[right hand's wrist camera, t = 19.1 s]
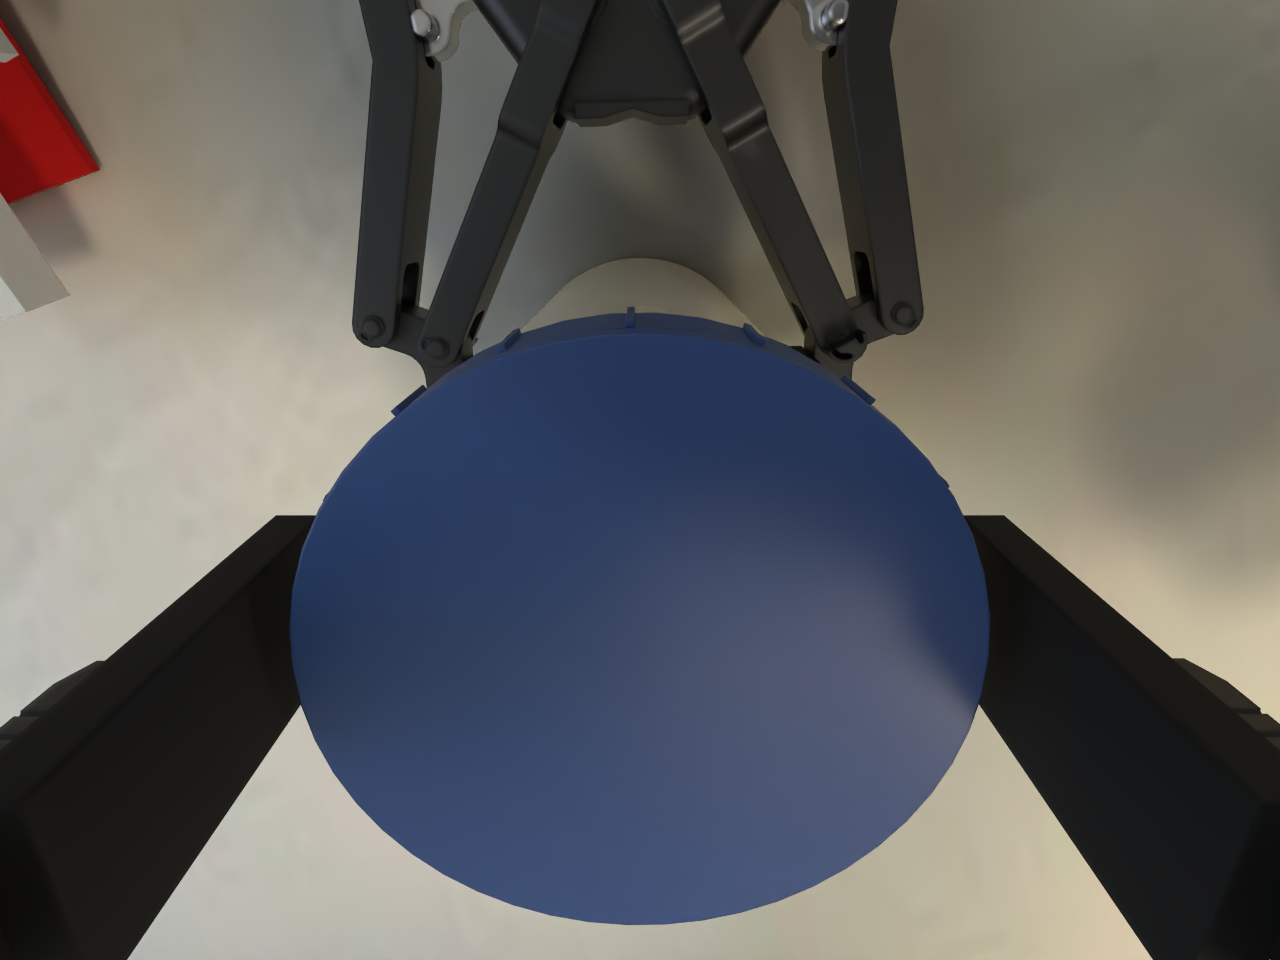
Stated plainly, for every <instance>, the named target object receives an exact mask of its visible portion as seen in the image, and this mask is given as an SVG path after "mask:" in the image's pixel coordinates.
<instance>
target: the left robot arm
mask: <svg viewBox="0 0 1280 960" xmlns="http://www.w3.org/2000/svg"><path fill="white" fill-rule="evenodd" d="M780 1H782V2H786V3H789V4H791V5H792V6H794V7H795V8H796V10H797V11H798V12H799V14H800V17H801V19H802V29H803V36H804V38H805V41H806V42H807V43H808V45H809V46H810V47H812V48H813V49H815V50H818V51H823V53H822V82H823V91H824V98H825V104H826V111H827V117H828V123H829V129H830V135H831V141H832V148H833V154H834V160H835V166H836V172H837V178H838V184H839V191H840V197H841V203H842V209H843V215H844V221H845V227H846V234H847V240H848V246H849V252H850V258H851V264H852V271H853V277H854V283H855V289H856V295H857V296H854V297H852V298H849V299H845V297H844V294H843V292H842V290H841V288H840V285H839V283H838V281H837V279H836V276H835V274H834V272H833V270H832V267H831V265H830V263H829V261H828V258H827V256H826V254H825V252H824V249H823V247H822V245H821V243H820V240H819V238H818V236H817V234H816V231H815V229H814V227H813V225H812V222H811V220H810V218H809V216H808V213H807V211H806V209H805V207H804V204H803V202H802V200H801V198H800V195H799V193H798V191H797V189H796V186H795V184H794V182H793V180H792V177H791V175H790V173H789V171H788V168H787V166H786V164H785V162H784V159H783V157H782V155H781V153H780V150H779V148H778V146H777V144H776V141H775V139H774V137H773V134H772V132H771V130H770V127H769V125H768V121H767V115H766V111H765V108H764V105H763V103H762V100H761V98H760V96H759V93H758V91H757V89H756V87H755V84H754V82H753V80H752V78H751V75H750V73H749V71H748V69H747V66H746V64H745V62H744V60H743V59H744V57H745V56H746V54H747V53H748V51H749V49H750V48H751V46H752V45H753V43H754V42H755V40H756V39H757V37H758V35H759V34H760V32H761V31H762V29H763V28H764V26H765V25H766V23H767V22H768V20H769V18H770V17H771V15H772V14H773V12H774V11H775V9H776V8H777V6H778V5H779V3H780ZM897 1H898V0H359V2H360V7H361V11H362V16H363V20H364V24H365V29H366V33H367V37H368V42H369V46H370V50H371V55H372V59H373V63H372V76H371V89H370V101H369V114H368V127H367V140H366V152H365V165H364V178H363V191H362V203H361V216H360V229H359V242H358V254H357V267H356V280H355V292H354V305H353V318H352V326H353V332H354V334H355V336H356V338H357V339H358V340H359V341H360V342H361V343H362V344H364V345H366V346H369V347H371V348H380V347H382V346H383V347H386V348H389V349H392V350H395V351H398V352H401V353H404V354H407V355H409V356H411V357H413V358H414V359H415V360H417V362H418V363H419V364H420V365H421V367H422V369H423V371H424V373H425V377H426V384H427V389H428V388H429V387H431V386H432V385H433V384H434V383H435V382H436V381H438V380H439V379H440V378H441V377H442V376H443V375H445V374H446V373H448V372H449V371H451V370H452V369H454V368H456V367H457V366H459V365H460V364H462V363H463V362H465V361H467V360H468V359H470V358H471V357H473V348H472V346H473V345H475V343H476V342H477V340H478V338H476V336H477V334H478V331H479V329H480V326H481V324H482V321H483V319H484V317H485V314H486V312H487V309H488V307H489V304H490V302H491V300H492V297H493V295H494V292H495V290H496V287H497V285H498V283H499V280H500V278H501V275H502V273H503V270H504V268H505V266H506V263H507V261H508V258H509V256H510V253H511V251H512V249H513V246H514V244H515V241H516V239H517V236H518V234H519V232H520V229H521V227H522V224H523V222H524V219H525V217H526V215H527V212H528V210H529V207H530V205H531V202H532V200H533V198H534V195H535V193H536V190H537V188H538V185H539V183H540V181H541V178H542V176H543V173H544V171H545V168H546V166H547V164H548V161H549V159H550V157H551V156H552V154H553V153H554V151H555V149H556V147H557V145H558V143H559V140H560V138H561V135H562V133H563V130H564V128H565V126H566V123H567V121H568V120H569V121H572V122H575V123H578V124H579V126H580V127H592V126H608V125H611V124H614V123H617V122H620V121H623V120H626V119H629V118H637V119H641V120H644V121H648V122H652V123H655V124H659V125H666V124H686V122H687V121H688V120H690V119H693V118H695V117H697V116H698V117H699V120H700V122H701V124H702V126H703V128H704V130H705V132H706V134H707V136H708V138H709V140H710V142H711V144H712V146H713V148H714V149H715V151H716V152H717V154H718V155H719V157H720V159H721V161H722V163H723V166H724V168H725V170H726V172H727V174H728V176H729V178H730V180H731V182H732V185H733V187H734V189H735V191H736V193H737V195H738V197H739V199H740V202H741V204H742V206H743V208H744V210H745V212H746V214H747V216H748V218H749V221H750V223H751V225H752V227H753V229H754V231H755V233H756V235H757V237H758V240H759V242H760V244H761V246H762V248H763V250H764V252H765V254H766V256H767V259H768V261H769V263H770V265H771V267H772V269H773V271H774V273H775V275H776V278H777V280H778V282H779V284H780V286H781V288H782V290H783V292H784V295H785V297H786V299H787V301H788V303H789V305H790V307H791V309H792V311H793V314H794V316H795V318H796V320H797V322H798V324H799V326H800V328H801V330H802V333H803V335H804V336H805V339H804V348H803V347H802V346H789V347H791V348H792V349H794V350H796V351H798V352H799V353H801V354H803V355H805V356H806V357H808V358H810V359H812V360H813V361H815V362H817V363H819V364H820V365H822V366H824V367H825V368H827V369H828V370H829V371H830V372H832V373H833V374H834V375H835V376H837V377H838V378H839V379H841V378H842V377H843V376H844V375H846V376H847V377H848V378H850V379H852V367H853V362H854V361H856V360H857V359H858V358H860V357H861V356H862V355H863V353H864V351H865V350H866V347H867V344H869V343H871V342H874V341H876V340H879V339H882V338H884V337H887V336H890V335H892V334H897V335H903V334H908V333H910V332H912V331H914V330H915V329H916V328H917V327H918V326H919V324H920V322H921V320H922V318H923V310H924V308H923V300H922V292H921V285H920V277H919V269H918V262H917V254H916V246H915V239H914V231H913V223H912V216H911V208H910V200H909V193H908V185H907V177H906V170H905V162H904V154H903V147H902V139H901V131H900V124H899V116H898V108H897V101H896V93H895V85H894V78H893V70H892V62H891V55H890V47H889V45H890V40H891V34H892V29H893V23H894V17H895V12H896V6H897ZM475 10H479V11H480V12H481V13H482V15H483V16H484V17H485V19H486V20H487V22H488V23H489V24H490V26H491V27H492V29H493V30H494V31H495V33H496V34H497V36H498V37H499V38H500V40H501V41H502V42H503V44H504V45H505V47H506V48H507V49H508V51H509V52H510V54H511V55H512V56H513V58H514V59H515V61H516V62H517V63H518V67H517V70H516V72H515V75H514V78H513V80H512V83H511V85H510V88H509V91H508V93H507V96H506V99H505V101H504V104H503V106H502V109H501V112H500V116H499V120H498V129H497V133H496V136H495V139H494V141H493V144H492V147H491V149H490V152H489V155H488V157H487V160H486V162H485V165H484V168H483V170H482V173H481V175H480V178H479V181H478V183H477V186H476V188H475V191H474V194H473V196H472V199H471V202H470V204H469V207H468V209H467V212H466V215H465V217H464V220H463V222H462V225H461V228H460V230H459V233H458V236H457V238H456V241H455V243H454V246H453V249H452V251H451V254H450V256H449V259H448V262H447V264H446V267H445V270H444V272H443V275H442V277H441V280H440V283H439V285H438V288H437V290H436V293H435V296H434V298H433V301H432V303H431V306H430V309H429V310H428V309H425V308H421V307H419V301H420V292H421V283H422V274H423V265H424V256H425V247H426V238H427V229H428V220H429V211H430V202H431V193H432V184H433V175H434V166H435V157H436V148H437V139H438V130H439V121H440V112H441V100H442V71H441V63H440V62H441V61H445V60H448V59H449V58H450V57H452V56H453V55H454V53H455V52H456V50H457V47H458V44H459V28H460V25H461V22H462V21H463V19H464V18H465V16H466V15H468V14H469V13H470V12H472V11H475Z"/></svg>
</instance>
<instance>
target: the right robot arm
mask: <svg viewBox="0 0 1280 960" xmlns="http://www.w3.org/2000/svg"><path fill="white" fill-rule="evenodd" d="M963 516H964V518H965V520H966V522H967V524H968V526H969V528H970V531H971V533H972V535H973V537H974V541H975V544H976V547H977V551H978V554H979V557H980V561H981V564H982V568H983V571H984V574H985V580H986V588H987V596H988V603H989V611H990V641H989V659H988V664H987V670H986V675H985V681H984V686H983V691H982V695H981V698H980V701H979V705H980V706H981V708H982V709H983V711H984V712H985V714H986V715H987V717H988V718H989V720H990V721H991V722H992V724H993V725H994V727H995V728H996V730H997V731H998V733H999V734H1000V736H1001V737H1002V739H1003V740H1004V742H1005V743H1006V744H1007V746H1008V747H1009V749H1010V750H1011V752H1012V753H1013V755H1014V756H1015V758H1016V759H1017V761H1018V762H1019V764H1020V765H1021V767H1022V768H1023V769H1024V771H1025V772H1026V774H1027V775H1028V777H1029V778H1030V780H1031V781H1032V783H1033V784H1034V786H1035V787H1036V789H1037V790H1038V792H1039V793H1040V794H1041V796H1042V797H1043V799H1044V800H1045V802H1046V803H1047V805H1048V806H1049V808H1050V809H1051V811H1052V812H1053V814H1054V815H1055V816H1056V818H1057V819H1058V821H1059V822H1060V824H1061V825H1062V827H1063V828H1064V830H1065V831H1066V833H1067V834H1068V836H1069V837H1070V839H1071V840H1072V841H1073V843H1074V844H1075V846H1076V847H1077V849H1078V850H1079V852H1080V853H1081V855H1082V856H1083V858H1084V859H1085V861H1086V862H1087V863H1088V865H1089V866H1090V868H1091V869H1092V871H1093V872H1094V874H1095V875H1096V877H1097V878H1098V880H1099V881H1100V883H1101V884H1102V886H1103V887H1104V888H1105V890H1106V891H1107V893H1108V894H1109V896H1110V897H1111V899H1112V900H1113V902H1114V903H1115V905H1116V906H1117V908H1118V909H1119V910H1120V912H1121V913H1122V915H1123V916H1124V918H1125V919H1126V921H1127V922H1128V924H1129V925H1130V927H1131V928H1132V930H1133V931H1134V933H1135V934H1136V935H1137V937H1138V938H1139V940H1140V941H1141V943H1142V944H1143V946H1144V947H1145V949H1146V950H1147V952H1148V953H1149V955H1150V956H1151V957H1152V959H1153V960H1269V959H1270V960H1280V724H1279V723H1278V722H1277V721H1275V720H1274V719H1273V718H1272V717H1270V716H1269V715H1268V714H1262V713H1261V711H1260V708H1259V707H1258V706H1257V705H1256V704H1254V703H1253V702H1252V701H1251V700H1249V699H1248V698H1247V697H1246V696H1244V695H1243V694H1242V693H1241V692H1240V691H1238V690H1237V689H1236V688H1235V687H1233V686H1232V685H1231V684H1230V683H1228V682H1227V681H1225V680H1224V679H1222V678H1220V677H1218V676H1216V675H1214V674H1212V673H1210V672H1209V671H1207V670H1205V669H1203V668H1201V667H1199V666H1197V665H1195V664H1194V663H1192V662H1190V661H1188V660H1186V659H1184V658H1171V657H1170V656H1169V655H1167V654H1166V653H1165V652H1164V651H1163V650H1162V649H1160V648H1159V647H1158V646H1157V645H1156V644H1155V643H1153V642H1152V641H1151V640H1150V639H1149V638H1147V637H1146V636H1145V635H1144V634H1143V633H1142V632H1140V631H1139V630H1138V629H1137V628H1136V627H1135V626H1133V625H1132V624H1131V623H1130V622H1129V621H1127V620H1126V619H1125V618H1124V617H1123V616H1122V615H1120V614H1119V613H1118V612H1117V611H1116V610H1115V609H1113V608H1112V607H1111V606H1110V605H1109V604H1107V603H1106V602H1105V601H1104V600H1103V599H1102V598H1100V597H1099V596H1098V595H1097V594H1096V593H1095V592H1093V591H1092V590H1091V589H1090V588H1089V587H1087V586H1086V585H1085V584H1084V583H1083V582H1082V581H1080V580H1079V579H1078V578H1077V577H1076V576H1075V575H1073V574H1072V573H1071V572H1070V571H1069V570H1067V569H1066V568H1065V567H1064V566H1063V565H1062V564H1060V563H1059V562H1058V561H1057V560H1056V559H1055V558H1053V557H1052V556H1051V555H1050V554H1049V553H1047V552H1046V551H1045V550H1044V549H1043V548H1042V547H1040V546H1039V545H1038V544H1037V543H1036V542H1035V541H1033V540H1032V539H1031V538H1030V537H1029V536H1027V535H1026V534H1025V533H1024V532H1023V531H1022V530H1020V529H1019V528H1018V527H1017V526H1016V525H1015V524H1013V523H1012V522H1011V521H1010V520H1009V519H1007V518H1006V517H1005V516H1004V515H963ZM315 517H316V515H276V516H275V517H274V518H273V519H271V520H270V521H269V522H268V523H267V524H265V525H264V526H263V527H262V528H261V529H260V530H258V531H257V532H256V533H255V534H254V535H253V536H251V537H250V538H249V539H248V540H247V541H245V542H244V543H243V544H242V545H241V546H240V547H238V548H237V549H236V550H235V551H234V552H233V553H231V554H230V555H229V556H228V557H227V558H225V559H224V560H223V561H222V562H221V563H220V564H218V565H217V566H216V567H215V568H214V569H213V570H211V571H210V572H209V573H208V574H207V575H205V576H204V577H203V578H202V579H201V580H200V581H198V582H197V583H196V584H195V585H194V586H193V587H191V588H190V589H189V590H188V591H187V592H185V593H184V594H183V595H182V596H181V597H180V598H178V599H177V600H176V601H175V602H174V603H173V604H171V605H170V606H169V607H168V608H167V609H165V610H164V611H163V612H162V613H161V614H160V615H158V616H157V617H156V618H155V619H154V620H153V621H151V622H150V623H149V624H148V625H147V626H145V627H144V628H143V629H142V630H141V631H140V632H138V633H137V634H136V635H135V636H134V637H133V638H131V639H130V640H129V641H128V642H127V643H125V644H124V645H123V646H122V647H121V648H120V649H118V650H117V651H116V652H115V653H114V654H113V655H111V656H110V657H109V658H108V659H107V660H105V661H96V662H94V663H92V664H90V665H88V666H86V667H85V668H83V669H81V670H79V671H77V672H75V673H73V674H71V675H70V676H68V677H66V678H64V679H62V680H60V681H58V682H57V683H55V684H53V685H52V686H51V687H50V688H48V689H47V690H46V691H45V692H43V693H42V694H41V695H40V696H38V697H37V698H36V699H35V700H34V701H32V702H31V703H30V704H29V705H27V706H26V707H25V708H24V709H23V710H21V714H20V716H19V717H13V718H11V719H10V720H9V721H8V722H7V723H5V724H4V725H3V726H2V727H0V960H127V959H128V957H129V956H130V955H131V953H132V952H133V950H134V949H135V947H136V946H137V944H138V943H139V941H140V940H141V938H142V937H143V935H144V934H145V933H146V931H147V930H148V928H149V927H150V925H151V924H152V922H153V921H154V919H155V918H156V916H157V915H158V913H159V912H160V910H161V909H162V908H163V906H164V905H165V903H166V902H167V900H168V899H169V897H170V896H171V894H172V893H173V891H174V890H175V888H176V887H177V886H178V884H179V883H180V881H181V880H182V878H183V877H184V875H185V874H186V872H187V871H188V869H189V868H190V866H191V865H192V863H193V862H194V861H195V859H196V858H197V856H198V855H199V853H200V852H201V850H202V849H203V847H204V846H205V844H206V843H207V841H208V840H209V839H210V837H211V836H212V834H213V833H214V831H215V830H216V828H217V827H218V825H219V824H220V822H221V821H222V819H223V818H224V816H225V815H226V814H227V812H228V811H229V809H230V808H231V806H232V805H233V803H234V802H235V800H236V799H237V797H238V796H239V794H240V793H241V791H242V790H243V789H244V787H245V786H246V784H247V783H248V781H249V780H250V778H251V777H252V775H253V774H254V772H255V771H256V769H257V768H258V767H259V765H260V764H261V762H262V761H263V759H264V758H265V756H266V755H267V753H268V752H269V750H270V749H271V747H272V746H273V744H274V743H275V742H276V740H277V739H278V737H279V736H280V734H281V733H282V731H283V730H284V728H285V727H286V725H287V724H288V722H289V721H290V720H291V718H292V717H293V715H294V714H295V712H296V711H297V709H298V708H299V706H300V705H301V703H300V698H299V694H298V690H297V686H296V681H295V677H294V673H293V669H292V657H291V644H290V632H289V627H290V614H291V601H292V589H293V584H294V580H295V576H296V572H297V568H298V564H299V560H300V556H301V551H302V548H303V545H304V543H305V541H306V538H307V536H308V534H309V531H310V529H311V526H312V524H313V522H314V519H315Z"/></svg>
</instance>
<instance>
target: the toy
mask: <svg viewBox="0 0 1280 960" xmlns="http://www.w3.org/2000/svg"><path fill="white" fill-rule="evenodd" d="M99 170H100V169H99V168H98V166H97V165H96V163H95V161H94V160H93V158H92V157H91V155H90V154H89V152H88V151H87V149H86V148H85V146H84V145H83V143H82V142H81V140H80V139H79V137H78V136H77V134H76V133H75V131H74V130H73V128H72V127H71V125H70V123H69V122H68V120H67V119H66V117H65V116H64V114H63V113H62V111H61V110H60V108H59V107H58V105H57V104H56V102H55V101H54V99H53V98H52V96H51V95H50V93H49V92H48V90H47V88H46V87H45V85H44V84H43V82H42V81H41V79H40V78H39V76H38V75H37V73H36V72H35V70H34V69H33V67H32V66H31V64H30V63H29V61H28V60H27V58H26V57H25V55H24V53H23V52H22V50H21V49H20V47H19V46H18V44H17V43H16V41H15V40H14V38H13V37H12V35H11V34H10V32H9V31H8V29H7V28H6V26H5V25H4V23H3V22H2V20H1V19H0V320H3V319H6V318H9V317H13V316H16V315H19V314H22V313H25V312H28V311H30V310H33V309H35V308H38V307H41V306H43V305H46V304H49V303H51V302H54V301H56V300H59V299H62V298H64V297H67V296H69V295H70V294H69V293H68V291H67V290H66V288H65V287H64V285H63V284H62V282H61V281H60V279H59V278H58V277H57V275H56V274H55V272H54V271H53V269H52V268H51V266H50V265H49V263H48V262H47V260H46V259H45V258H44V256H43V255H42V253H41V252H40V250H39V249H38V247H37V246H36V244H35V243H34V242H33V240H32V239H31V237H30V236H29V234H28V233H27V231H26V230H25V228H24V227H23V225H22V224H21V223H20V221H19V220H18V218H17V217H16V215H15V214H14V212H13V211H12V209H11V208H10V207H9V205H8V204H11V203H13V202H16V201H19V200H21V199H24V198H27V197H29V196H32V195H35V194H37V193H40V192H43V191H45V190H48V189H51V188H53V187H56V186H59V185H61V184H64V183H67V182H69V181H72V180H75V179H77V178H80V177H83V176H85V175H88V174H91V173H93V172H96V171H99Z"/></svg>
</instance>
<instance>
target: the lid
mask: <svg viewBox="0 0 1280 960" xmlns="http://www.w3.org/2000/svg"><path fill="white" fill-rule="evenodd" d="M423 392H424V393H423ZM416 398H417V399H416ZM874 401H875V399H874V398H873V397H872V396H870V395H869V394H868V393H867V392H865V391H864V390H863V389H862V388H861V387H859V386H858V385H857V384H856V383H855V382H853V381H852V380H851V379H850V378H848V377H847V376H846V375H844V376H843V377H842V378H841V379H839V378H838V377H837V376H835V375H834V374H833V373H832V372H830V371H829V370H828V369H827V368H825V367H824V366H822V365H820V364H819V363H817V362H815V361H813V360H812V359H810V358H808V357H806V356H805V355H803V354H801V353H799V352H798V351H796V350H794V349H792V348H791V347H789V346H787V345H785V344H782V343H780V342H777V341H775V340H772V339H770V338H767V337H765V336H762V335H760V334H759V333H758V332H757V331H756V330H755V329H754V328H753V327H752V326H751V325H750V324H747V323H744V325H743V328H741V327H737V326H733V325H729V324H725V323H721V322H717V321H713V320H709V319H705V318H701V317H692V316H683V315H674V314H665V313H657V312H650V313H635V307H627V313H609V314H602V315H596V316H589V317H583V318H577V319H570V320H564V321H561V322H557V323H554V324H551V325H547V326H544V327H540V328H537V329H534V330H530V331H527V332H524V333H521V331H520V329H516V330H513V331H512V332H511V333H510V334H509V335H508V336H507V337H506V338H505V339H504V340H503V341H502V342H501V343H499V344H496V345H494V346H492V347H490V348H488V349H485V350H483V351H481V352H479V353H478V354H476V355H475V356H473V357H471V358H470V359H468V360H467V361H465V362H463V363H462V364H460V365H459V366H457V367H456V368H454V369H452V370H451V371H449V372H448V373H446V374H445V375H443V376H442V377H441V378H440V379H439V380H438V381H436V382H435V383H434V384H433V385H432V386H431V387H429V388H428V389H427V388H426V387H425V386H424V385H422V386H421V387H419V388H418V389H417V390H416V391H414V392H413V393H412V394H411V395H410V396H408V397H407V398H406V399H405V400H403V401H402V402H401V403H400V404H399V405H397V406H396V407H395V408H394V409H393V410H392V411H391V412H392V413H393V415H394V416H396V417H394V418H393V419H392V420H391V421H390V422H389V423H387V424H386V425H385V426H384V427H383V428H382V429H381V430H379V431H378V432H377V433H376V434H375V435H374V436H372V438H371V439H370V440H369V441H368V442H367V443H366V444H365V446H364V447H363V448H362V449H361V450H360V451H359V453H358V454H357V455H356V456H355V457H354V458H353V460H352V461H351V462H350V463H349V464H348V465H347V467H346V468H345V469H344V470H343V471H342V473H341V474H340V476H339V477H338V479H337V481H336V482H335V484H334V485H333V487H332V489H331V490H330V492H329V493H328V494H327V495H326V496H325V498H324V500H323V503H322V505H321V506H320V508H319V510H318V512H317V515H316V517H315V519H314V522H313V524H312V526H311V529H310V531H309V534H308V536H307V538H306V541H305V543H304V545H303V548H302V551H301V556H300V560H299V564H298V568H297V572H296V576H295V580H294V584H293V589H292V601H291V614H290V627H289V632H290V644H291V657H292V669H293V673H294V677H295V681H296V686H297V690H298V694H299V698H300V703H301V706H302V709H303V711H304V714H305V716H306V719H307V721H308V724H309V726H310V729H311V731H312V734H313V737H314V739H315V741H316V743H317V745H318V747H319V748H320V750H321V752H322V754H323V755H324V757H325V759H326V761H327V762H328V764H329V766H330V768H331V769H332V771H333V773H334V774H335V776H336V777H337V778H338V780H339V781H340V782H341V784H342V785H343V786H344V788H345V789H346V790H347V792H348V793H349V794H350V795H351V797H352V798H353V799H354V801H355V802H356V803H357V804H358V805H359V806H360V807H361V809H362V810H363V811H364V812H365V813H366V814H367V815H368V816H369V817H370V818H371V819H372V820H373V821H374V822H375V823H376V824H377V825H378V826H379V827H380V828H381V829H382V830H383V831H384V832H385V833H387V834H388V835H389V836H390V837H392V838H393V839H394V840H395V841H397V842H398V843H399V844H400V845H401V846H403V847H404V848H405V849H406V850H408V851H409V852H410V853H411V854H413V855H414V856H416V857H417V858H419V859H420V860H422V861H424V862H425V863H427V864H428V865H430V866H431V867H433V868H435V869H436V870H438V871H439V872H441V873H442V874H444V875H446V876H448V877H450V878H452V879H454V880H456V881H458V882H460V883H462V884H464V885H466V886H468V887H470V888H472V889H474V890H476V891H478V892H480V893H483V894H485V895H488V896H491V897H493V898H496V899H499V900H501V901H504V902H506V903H509V904H512V905H514V906H518V907H522V908H525V909H529V910H533V911H536V912H540V913H544V914H547V915H551V916H557V917H563V918H569V919H574V920H580V921H586V922H596V923H609V924H621V925H655V924H673V923H682V922H692V921H701V920H707V919H712V918H717V917H722V916H727V915H732V914H736V913H741V912H744V911H748V910H751V909H754V908H758V907H761V906H764V905H767V904H771V903H774V902H777V901H780V900H782V899H784V898H787V897H789V896H792V895H794V894H796V893H799V892H801V891H804V890H806V889H808V888H811V887H813V886H815V885H817V884H819V883H820V882H822V881H824V880H826V879H828V878H830V877H831V876H833V875H835V874H837V873H839V872H841V871H842V870H844V869H846V868H848V867H849V866H851V865H852V864H853V863H855V862H856V861H858V860H859V859H861V858H862V857H864V856H865V855H866V854H868V853H869V852H871V851H872V850H874V849H875V848H877V847H878V846H879V845H880V844H881V843H882V842H884V841H885V840H886V839H887V838H888V837H889V836H890V835H892V834H893V833H894V832H895V831H896V830H897V829H898V828H900V827H901V826H902V825H903V824H904V823H905V822H906V821H907V820H908V819H909V818H910V817H911V816H912V815H913V814H914V812H915V811H916V810H917V809H918V808H919V807H920V806H921V805H922V804H923V802H924V801H925V800H926V799H927V798H928V797H929V796H930V795H931V793H932V792H933V791H934V789H935V788H936V786H937V785H938V783H939V782H940V780H941V779H942V778H943V776H944V775H945V773H946V772H947V770H948V769H949V768H950V766H951V765H952V763H953V761H954V759H955V757H956V755H957V753H958V751H959V750H960V748H961V746H962V744H963V742H964V740H965V738H966V736H967V734H968V732H969V730H970V727H971V724H972V721H973V719H974V716H975V713H976V710H977V707H978V704H979V701H980V698H981V695H982V691H983V686H984V681H985V675H986V670H987V664H988V659H989V641H990V611H989V603H988V596H987V588H986V580H985V574H984V571H983V568H982V564H981V561H980V557H979V554H978V551H977V547H976V544H975V541H974V537H973V535H972V533H971V531H970V528H969V526H968V524H967V522H966V520H965V518H964V516H963V514H962V512H961V510H960V508H959V506H958V504H957V502H956V499H955V497H954V496H953V494H952V493H951V491H950V490H949V489H948V488H949V485H948V483H947V482H946V481H945V480H944V479H943V478H942V477H941V476H940V475H939V474H938V473H937V471H936V470H935V468H934V467H933V466H932V464H931V463H930V461H929V460H928V459H927V458H926V457H925V456H924V455H923V454H922V452H921V451H920V450H919V449H918V448H917V447H916V446H915V445H914V444H913V443H912V442H911V441H910V440H909V439H908V438H907V437H906V436H905V435H904V434H903V432H902V431H901V430H900V429H899V428H898V427H897V426H896V425H895V424H893V423H892V422H891V421H890V420H889V419H887V418H886V417H885V416H884V415H883V414H882V413H881V412H879V411H878V410H877V409H876V408H875V407H874V406H872V404H873V403H874ZM409 404H410V405H409Z"/></svg>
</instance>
